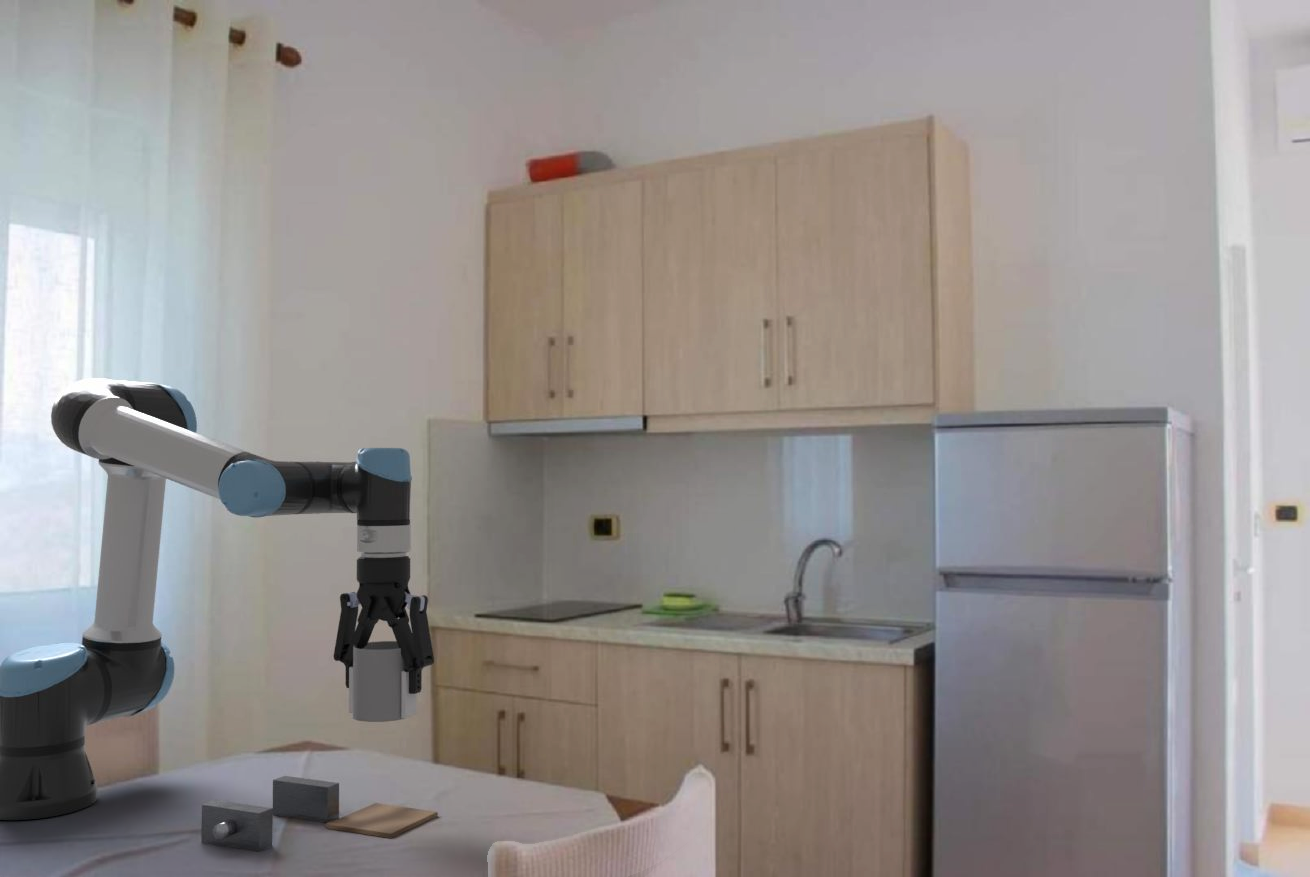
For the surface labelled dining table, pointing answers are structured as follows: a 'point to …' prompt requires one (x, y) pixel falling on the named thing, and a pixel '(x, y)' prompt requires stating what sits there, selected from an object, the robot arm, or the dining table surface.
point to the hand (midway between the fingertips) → (382, 713)
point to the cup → (377, 682)
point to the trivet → (382, 820)
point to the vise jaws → (268, 813)
